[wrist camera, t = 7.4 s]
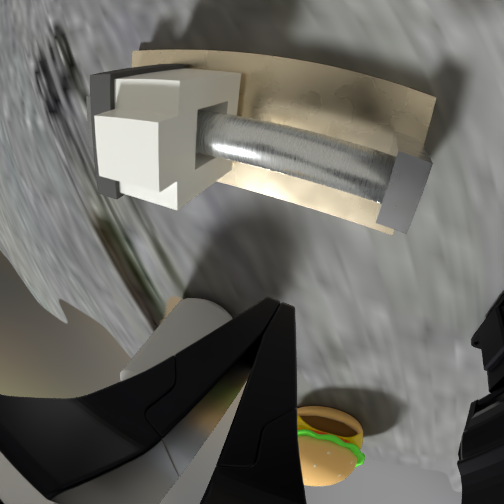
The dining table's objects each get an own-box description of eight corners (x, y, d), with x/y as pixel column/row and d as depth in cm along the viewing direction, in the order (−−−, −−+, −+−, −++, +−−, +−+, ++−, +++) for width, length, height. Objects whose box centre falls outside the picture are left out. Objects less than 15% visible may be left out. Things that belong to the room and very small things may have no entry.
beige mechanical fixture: (434, 97, 13) (454, 106, 9) (392, 230, 19) (390, 279, 15) (138, 50, 18) (83, 57, 14) (137, 158, 24) (91, 182, 20)
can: (205, 280, 28) (124, 380, 19) (260, 336, 30) (201, 441, 20) (168, 306, 33) (99, 388, 24) (216, 352, 34) (160, 438, 25)
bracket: (241, 73, 16) (159, 84, 10) (231, 169, 20) (160, 223, 14) (184, 68, 17) (93, 83, 11) (180, 157, 21) (102, 203, 15)
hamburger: (276, 426, 40) (252, 476, 33) (288, 386, 33) (259, 452, 26) (354, 448, 36) (338, 501, 30) (387, 414, 29) (372, 482, 23)
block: (184, 64, 17) (110, 74, 12) (180, 161, 21) (116, 199, 16) (164, 63, 17) (89, 75, 12) (162, 157, 22) (98, 193, 17)
